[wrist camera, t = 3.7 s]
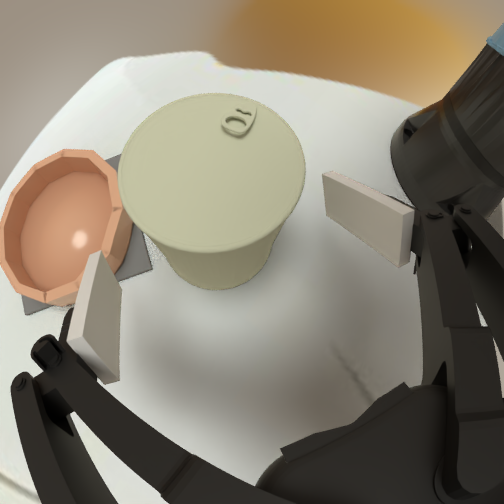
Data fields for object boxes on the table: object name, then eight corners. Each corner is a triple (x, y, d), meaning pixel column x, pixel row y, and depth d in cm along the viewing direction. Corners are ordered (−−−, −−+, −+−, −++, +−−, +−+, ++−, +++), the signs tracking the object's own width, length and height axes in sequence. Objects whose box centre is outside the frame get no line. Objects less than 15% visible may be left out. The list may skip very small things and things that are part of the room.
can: (290, 214, 25) (335, 128, 13) (240, 310, 23) (253, 292, 11) (198, 169, 25) (184, 69, 14) (142, 256, 23) (77, 193, 11)
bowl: (120, 148, 25) (109, 128, 22) (149, 277, 22) (137, 268, 19) (17, 198, 23) (-1, 185, 20) (28, 320, 20) (6, 318, 17)
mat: (125, 154, 25) (124, 152, 25) (152, 269, 23) (151, 268, 22) (16, 206, 23) (14, 204, 23) (27, 315, 21) (25, 315, 20)
